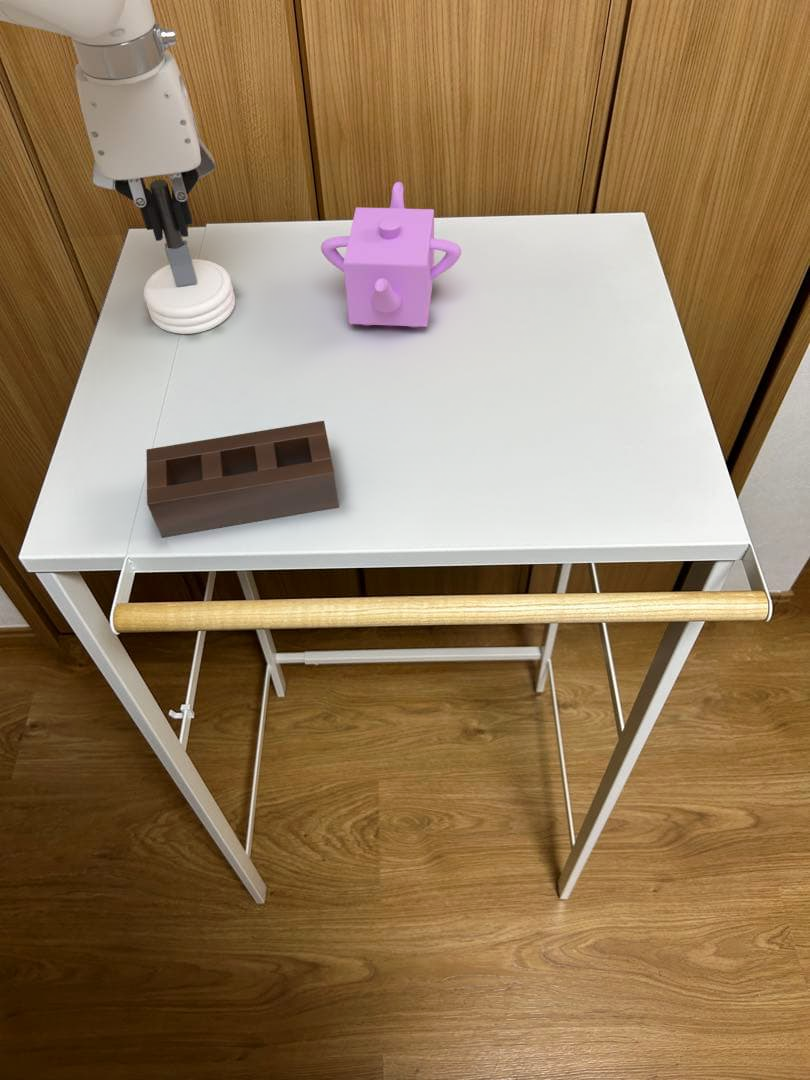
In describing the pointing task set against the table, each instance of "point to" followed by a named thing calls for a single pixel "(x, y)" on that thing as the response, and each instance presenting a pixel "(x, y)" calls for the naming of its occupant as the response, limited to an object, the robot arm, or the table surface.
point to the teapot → (390, 263)
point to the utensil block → (240, 479)
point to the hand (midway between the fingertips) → (171, 230)
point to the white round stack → (190, 299)
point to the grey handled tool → (173, 236)
